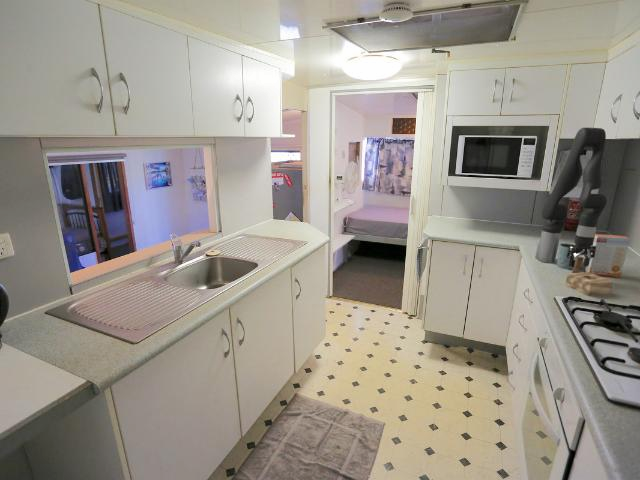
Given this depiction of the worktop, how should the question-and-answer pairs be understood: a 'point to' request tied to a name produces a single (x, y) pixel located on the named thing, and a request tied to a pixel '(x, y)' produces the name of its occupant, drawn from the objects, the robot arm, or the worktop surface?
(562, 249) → the teal ceramic cylinder
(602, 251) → the cracker box
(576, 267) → the walnut peg
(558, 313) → the worktop surface
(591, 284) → the oak bore block
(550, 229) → the robot arm
